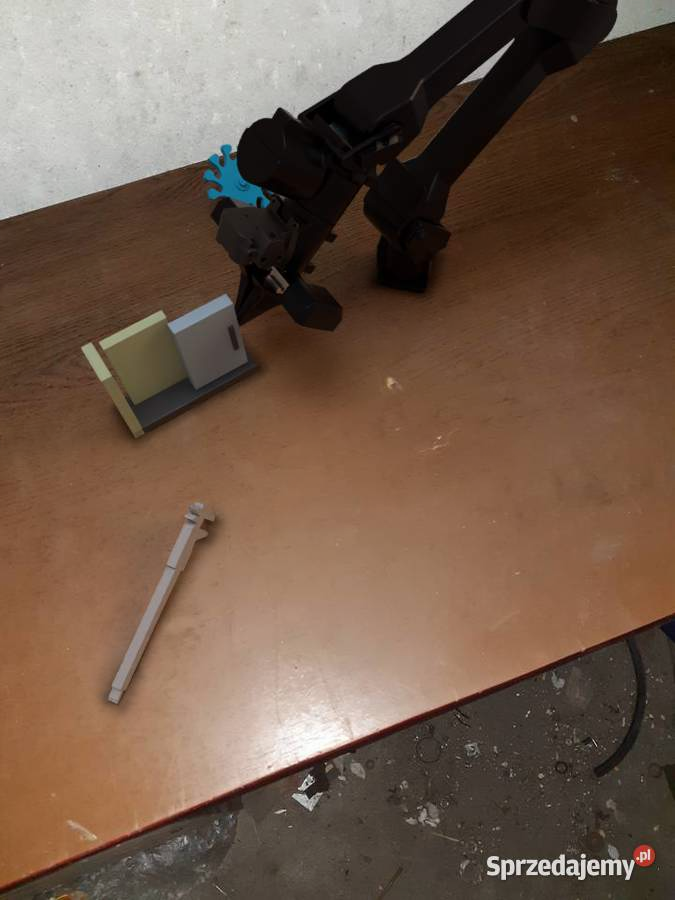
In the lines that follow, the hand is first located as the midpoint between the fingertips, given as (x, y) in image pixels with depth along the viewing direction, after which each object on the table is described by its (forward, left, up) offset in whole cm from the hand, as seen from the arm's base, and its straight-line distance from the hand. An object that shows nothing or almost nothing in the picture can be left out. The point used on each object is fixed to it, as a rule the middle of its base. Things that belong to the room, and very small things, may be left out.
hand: (236, 323), depth 78 cm
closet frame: (+4, +5, -7) cm, 10 cm away
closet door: (+2, +4, -5) cm, 7 cm away
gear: (+8, -24, -7) cm, 27 cm away
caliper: (-3, +31, -7) cm, 31 cm away
